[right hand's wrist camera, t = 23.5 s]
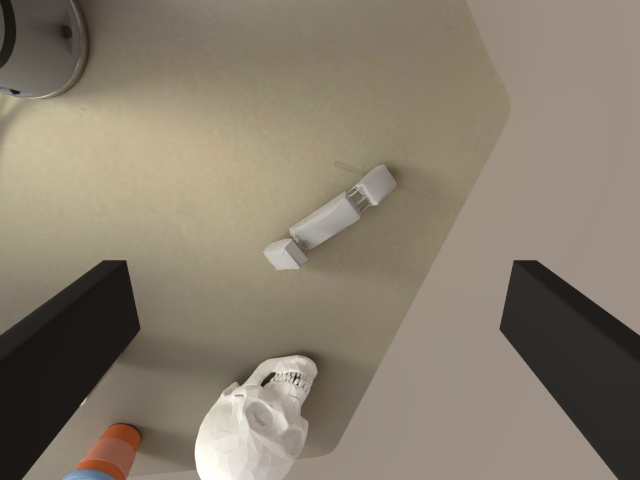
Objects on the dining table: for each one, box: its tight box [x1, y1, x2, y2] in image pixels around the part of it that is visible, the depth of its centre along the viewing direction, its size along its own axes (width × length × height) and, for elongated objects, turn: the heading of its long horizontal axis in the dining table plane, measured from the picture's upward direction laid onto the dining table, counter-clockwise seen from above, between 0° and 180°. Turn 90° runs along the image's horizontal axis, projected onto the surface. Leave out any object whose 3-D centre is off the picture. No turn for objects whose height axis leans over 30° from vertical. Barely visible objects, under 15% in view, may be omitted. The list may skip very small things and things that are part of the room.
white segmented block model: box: [264, 165, 398, 270], centre depth 47 cm, size 20×4×7 cm, turn 127°
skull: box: [195, 355, 318, 480], centre depth 54 cm, size 13×22×16 cm, turn 138°
